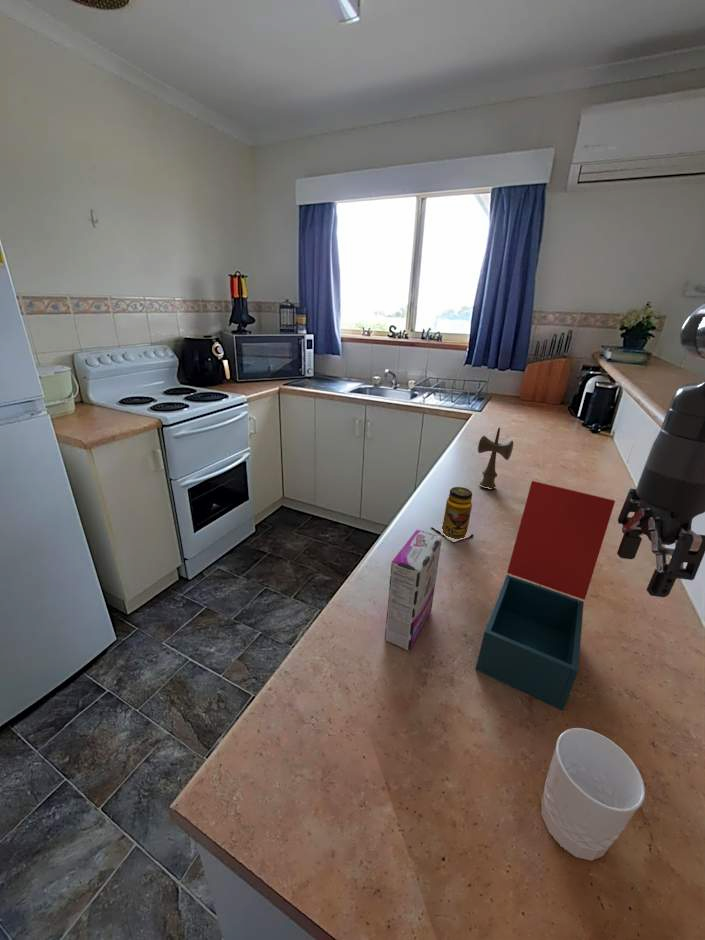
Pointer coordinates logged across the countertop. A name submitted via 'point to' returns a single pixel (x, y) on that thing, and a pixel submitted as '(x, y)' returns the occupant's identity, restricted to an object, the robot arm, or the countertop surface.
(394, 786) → the countertop surface
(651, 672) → the countertop surface
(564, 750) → the white cup
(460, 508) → the condiment
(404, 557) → the candy bar box
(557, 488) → the lid
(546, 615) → the box
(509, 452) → the kendama
